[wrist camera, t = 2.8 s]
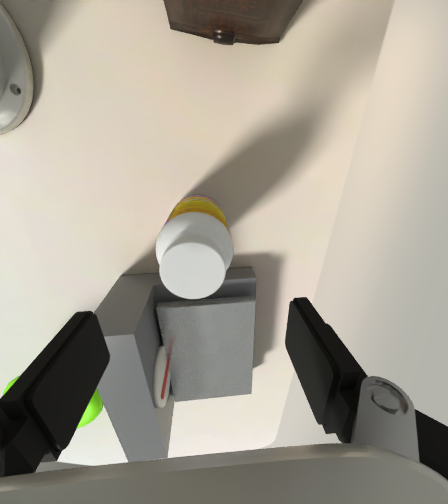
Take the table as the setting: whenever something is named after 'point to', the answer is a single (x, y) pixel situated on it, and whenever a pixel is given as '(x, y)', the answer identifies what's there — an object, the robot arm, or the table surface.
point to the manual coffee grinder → (232, 19)
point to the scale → (146, 359)
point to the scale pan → (209, 346)
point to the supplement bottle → (194, 248)
